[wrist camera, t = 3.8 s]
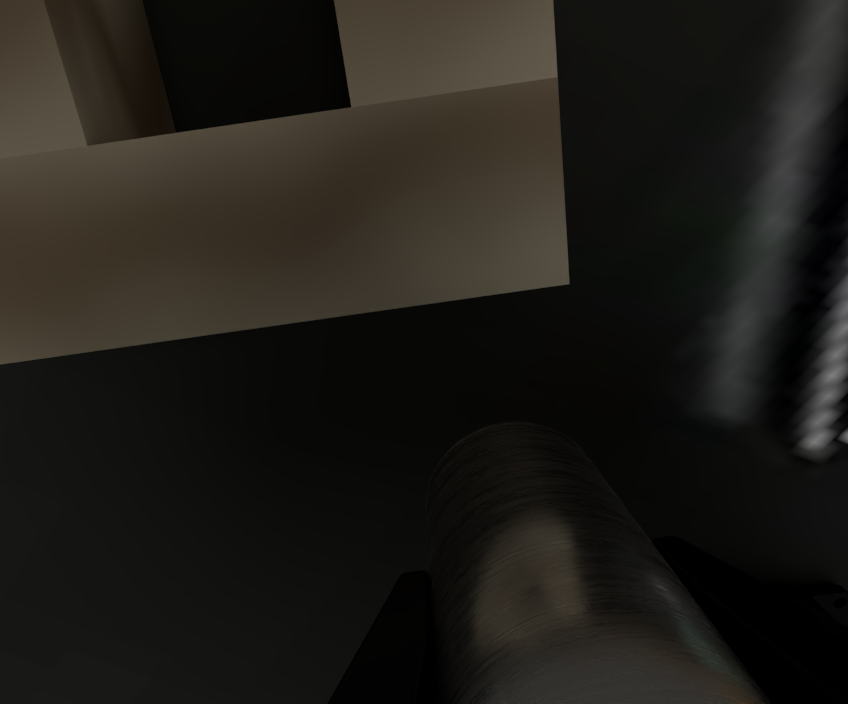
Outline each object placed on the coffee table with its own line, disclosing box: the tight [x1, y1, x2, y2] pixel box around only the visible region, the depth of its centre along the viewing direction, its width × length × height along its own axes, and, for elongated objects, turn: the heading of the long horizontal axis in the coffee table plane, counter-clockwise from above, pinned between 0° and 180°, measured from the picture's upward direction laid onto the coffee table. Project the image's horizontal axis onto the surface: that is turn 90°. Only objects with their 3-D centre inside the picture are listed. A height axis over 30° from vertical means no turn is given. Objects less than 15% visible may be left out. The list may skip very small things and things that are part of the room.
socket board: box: [0, 0, 569, 364], centre depth 11 cm, size 14×14×4 cm
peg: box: [425, 421, 772, 704], centre depth 6 cm, size 4×4×8 cm
